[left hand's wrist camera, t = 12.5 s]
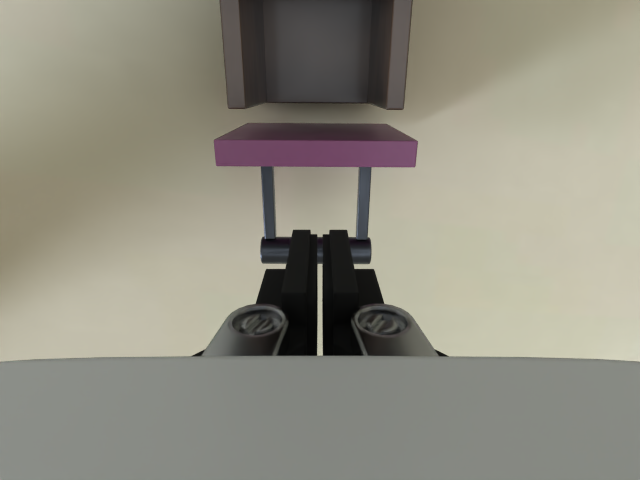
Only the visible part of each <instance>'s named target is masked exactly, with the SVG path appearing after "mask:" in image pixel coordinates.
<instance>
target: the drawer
mask: <svg viewBox="0 0 640 480" xmlns="http://www.w3.org/2000/svg"><path fill="white" fill-rule="evenodd" d="M412 2H413V0H220V12H221V25H222V37H223V50H224V63H225V76H226V88H227V101H228V108H229V109H246V108H249V107H253V106H256V105H260V104H263V103H369V104H372V105H375V106H378V107H381V108H384V109H387V110H403V109H404V99H405V87H406V75H407V63H408V51H409V38H410V26H411V14H412ZM417 144H418V141H416V140H415V139H413V138H411V137H409V136H407V135H406V134H404V133H402V132H400V131H398V130H397V129H395V128H393V127H391V126H389V125H388V124H314V123H247V124H245V125H243V126H241V127H239V128H237V129H235V130H233V131H231V132H229V133H227V134H225V135H223V136H221V137H219V138H217V139H215V140H214V148H215V158H216V166H261V176H262V196H263V216H264V235H265V237H262V240H261V250H260V252H261V261H262V263H263V264H287V259H288V254H289V248H290V243H291V238H292V237H276V214H275V188H274V166H287V167H359V174H358V197H357V220H356V237H348V238H349V243H350V248H351V254H352V259H353V264H370V261H371V240H370V238H369V237H368V219H369V201H370V183H371V167H415V165H416V155H417ZM317 264H323V237H317Z"/></svg>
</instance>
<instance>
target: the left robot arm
mask: <svg viewBox="0 0 640 480" xmlns="http://www.w3.org/2000/svg"><path fill="white" fill-rule="evenodd" d="M0 480H640V362H637V361H620V360H604V359H574V358H536V357H449V356H447V355H445V354H443V353H441V352H439V351H437V350H435V349H434V348H433V347H432V345H431V344H430V342H429V341H428V339H427V338H426V336H425V335H424V333H423V332H422V330H421V329H420V327H419V326H418V324H417V323H416V321H415V320H414V318H413V317H412V316H411V315H410V314H409V313H408V312H406V311H405V310H403V309H401V308H399V307H396V306H393V305H387V304H384V301H383V298H382V294H381V291H380V288H379V284H378V281H377V278H376V274H375V271H374V269H354V264H353V259H352V254H351V248H350V243H349V238H348V233H347V230H330V232H329V234H323V356H317V234H311V232H310V230H293V233H292V238H291V243H290V248H289V254H288V259H287V264H286V269H266V271H265V274H264V278H263V281H262V284H261V288H260V291H259V294H258V298H257V301H256V304H253V305H247V306H244V307H241V308H239V309H237V310H235V311H234V312H232V313H231V314H230V315H229V316H228V317H227V318H226V320H225V321H224V323H223V324H222V326H221V327H220V329H219V330H218V332H217V333H216V335H215V336H214V338H213V339H212V341H211V342H210V344H209V345H208V347H207V348H206V349H205V350H203V351H201V352H199V353H197V354H195V355H193V356H190V357H99V358H66V359H34V360H20V361H5V362H0Z"/></svg>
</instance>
